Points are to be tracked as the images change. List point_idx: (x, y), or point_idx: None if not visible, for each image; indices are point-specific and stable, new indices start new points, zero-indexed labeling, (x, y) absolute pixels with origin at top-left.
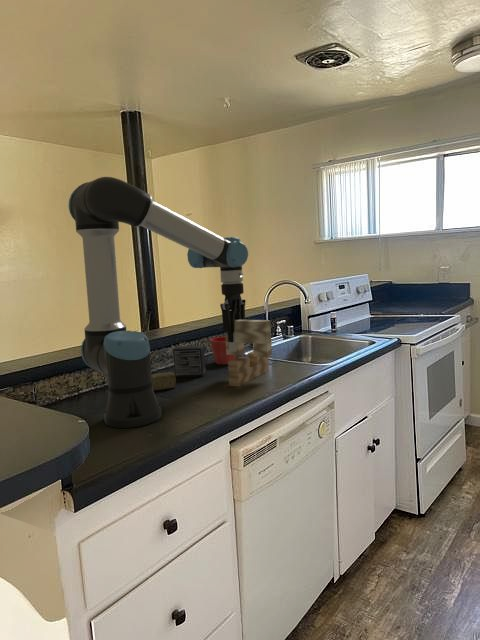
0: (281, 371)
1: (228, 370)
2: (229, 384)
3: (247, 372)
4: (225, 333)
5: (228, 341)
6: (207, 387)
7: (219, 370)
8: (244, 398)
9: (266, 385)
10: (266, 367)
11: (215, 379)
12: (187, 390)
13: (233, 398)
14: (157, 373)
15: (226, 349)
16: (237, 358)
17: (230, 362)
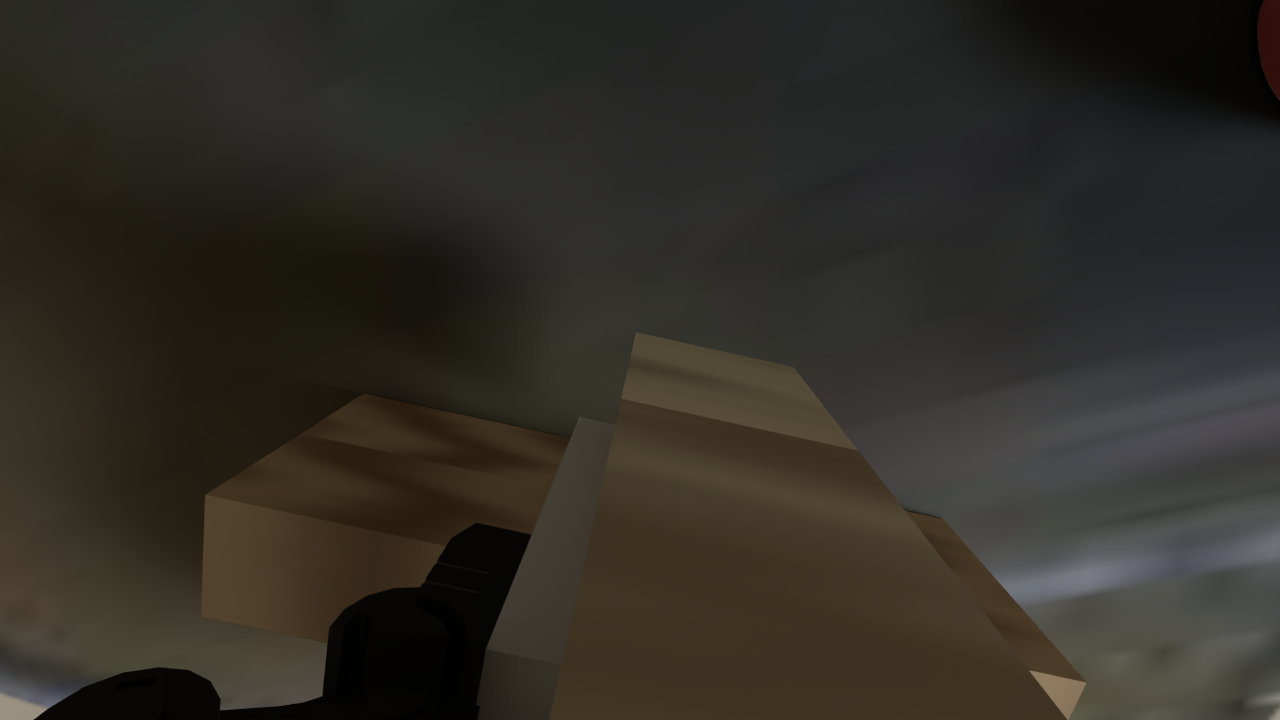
0: None
1: (280, 448)
2: (359, 398)
3: None
4: (597, 505)
5: (462, 531)
6: (261, 208)
7: (937, 79)
8: (86, 600)
9: None
10: None
11: (546, 181)
12: (112, 38)
13: (57, 527)
14: None
15: (630, 359)
16: (417, 561)
17: (208, 527)
